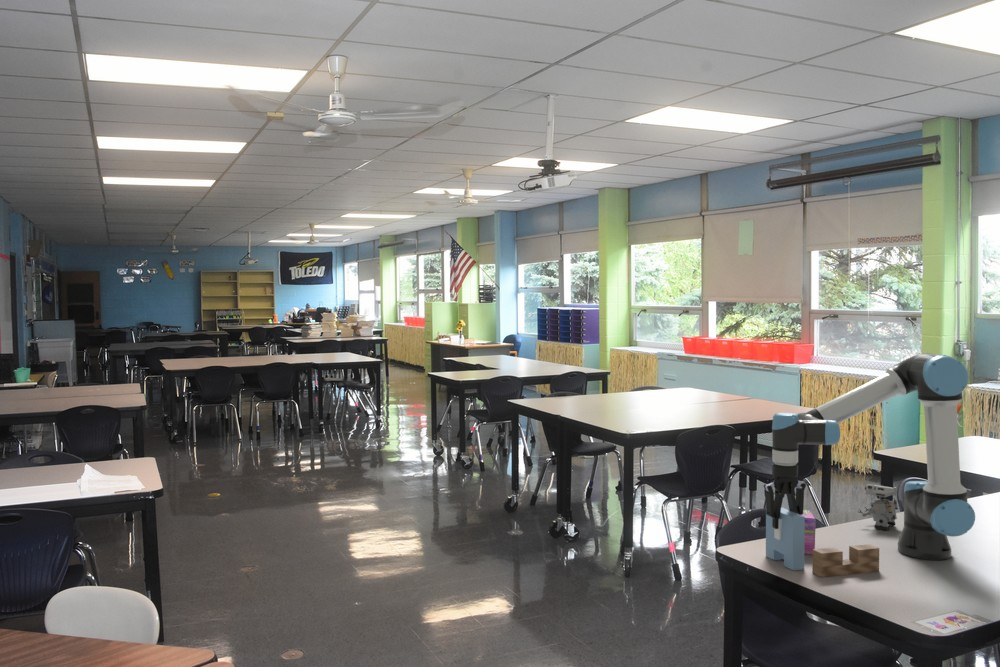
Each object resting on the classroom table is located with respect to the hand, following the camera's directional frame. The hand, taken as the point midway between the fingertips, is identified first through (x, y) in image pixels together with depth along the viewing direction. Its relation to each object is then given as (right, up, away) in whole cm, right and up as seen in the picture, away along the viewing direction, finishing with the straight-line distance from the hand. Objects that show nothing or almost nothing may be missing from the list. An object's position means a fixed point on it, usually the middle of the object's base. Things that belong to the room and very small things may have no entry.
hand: (784, 538), depth 237 cm
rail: (+15, -8, -8) cm, 19 cm away
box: (+11, -8, +14) cm, 19 cm away
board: (0, -8, 0) cm, 8 cm away
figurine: (+49, -7, +39) cm, 63 cm away
